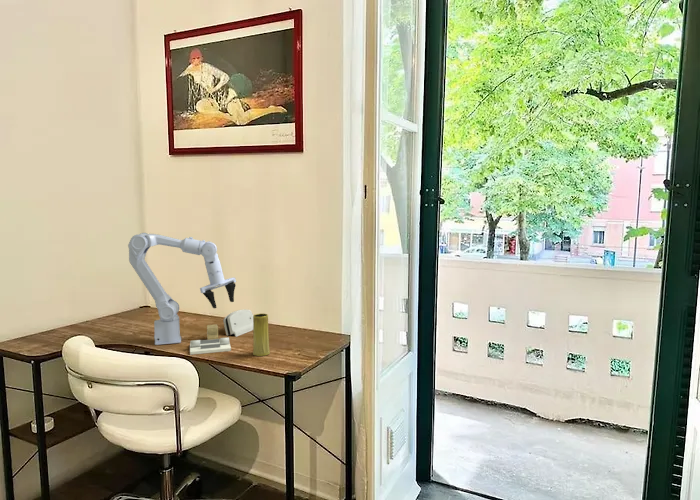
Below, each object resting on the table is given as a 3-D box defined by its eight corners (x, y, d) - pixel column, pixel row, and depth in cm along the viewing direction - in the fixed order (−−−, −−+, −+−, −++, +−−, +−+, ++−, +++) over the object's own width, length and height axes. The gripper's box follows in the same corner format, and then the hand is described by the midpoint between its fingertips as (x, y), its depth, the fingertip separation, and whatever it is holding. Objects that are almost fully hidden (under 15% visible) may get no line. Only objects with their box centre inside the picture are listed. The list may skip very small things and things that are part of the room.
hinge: (235, 336, 202) (228, 313, 202) (227, 339, 204) (219, 316, 204) (260, 327, 217) (253, 305, 217) (251, 329, 219) (245, 307, 219)
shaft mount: (190, 354, 179) (189, 345, 179) (190, 345, 190) (189, 336, 190) (231, 350, 183) (230, 341, 183) (228, 341, 195) (228, 333, 194)
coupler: (218, 341, 196) (217, 327, 195) (207, 342, 194) (207, 328, 194) (217, 337, 201) (217, 324, 200) (207, 338, 200) (206, 325, 199)
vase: (270, 351, 183) (270, 313, 181) (268, 356, 177) (268, 317, 175) (254, 351, 183) (253, 313, 181) (251, 356, 177) (250, 317, 175)
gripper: (201, 277, 188) (211, 311, 190) (235, 266, 197) (244, 299, 199) (194, 277, 194) (203, 310, 196) (227, 266, 203) (236, 298, 205)
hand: (223, 304), depth 198 cm, fingers open, 7 cm apart
